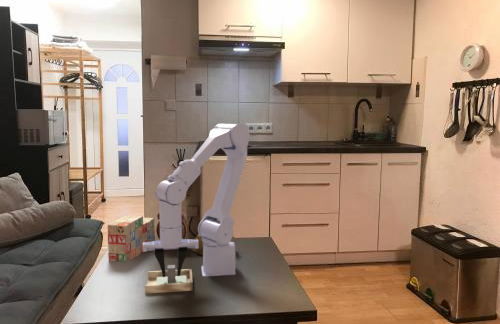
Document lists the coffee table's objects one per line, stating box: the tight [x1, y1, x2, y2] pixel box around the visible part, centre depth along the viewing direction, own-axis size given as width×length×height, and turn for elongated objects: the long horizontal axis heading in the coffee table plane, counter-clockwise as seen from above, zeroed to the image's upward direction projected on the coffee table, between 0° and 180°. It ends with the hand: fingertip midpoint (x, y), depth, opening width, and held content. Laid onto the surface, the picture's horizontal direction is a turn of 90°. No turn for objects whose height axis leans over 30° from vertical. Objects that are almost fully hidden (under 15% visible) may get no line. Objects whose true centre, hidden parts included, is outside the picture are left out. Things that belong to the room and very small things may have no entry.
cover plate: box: [156, 264, 187, 285], centre depth 108 cm, size 8×7×5 cm
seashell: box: [192, 233, 235, 256], centre depth 137 cm, size 11×14×10 cm
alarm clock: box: [155, 209, 190, 240], centre depth 141 cm, size 11×5×15 cm, turn 77°
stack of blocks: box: [107, 214, 156, 263], centre depth 135 cm, size 21×6×12 cm, turn 169°
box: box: [144, 268, 194, 294], centre depth 108 cm, size 12×10×2 cm
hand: (171, 275), depth 108 cm, fingers open, 3 cm apart
